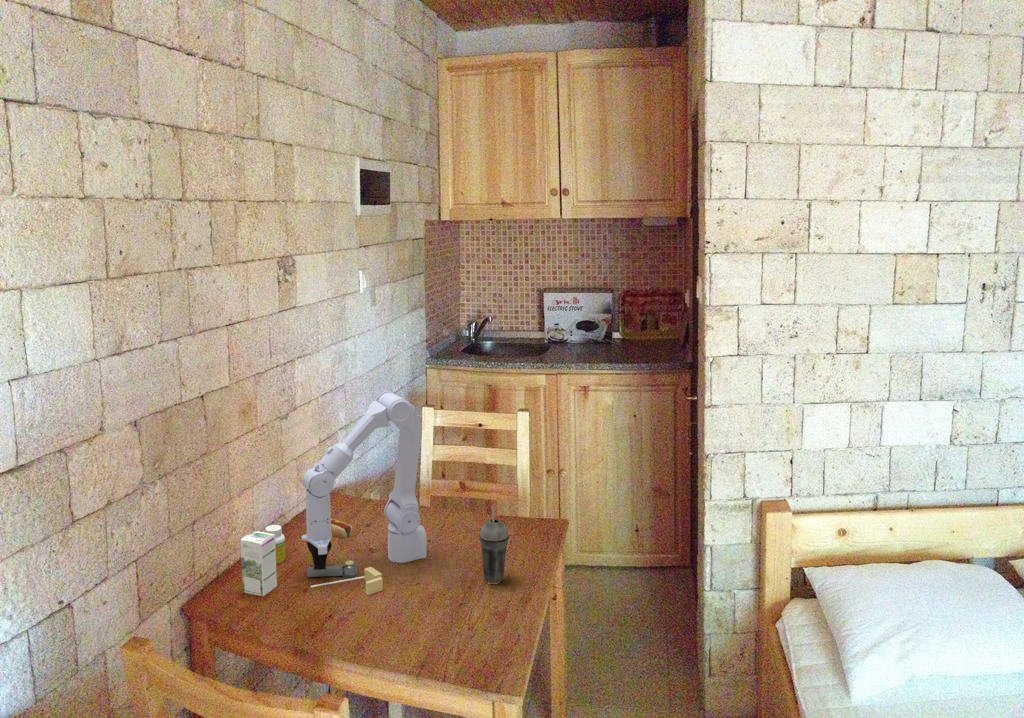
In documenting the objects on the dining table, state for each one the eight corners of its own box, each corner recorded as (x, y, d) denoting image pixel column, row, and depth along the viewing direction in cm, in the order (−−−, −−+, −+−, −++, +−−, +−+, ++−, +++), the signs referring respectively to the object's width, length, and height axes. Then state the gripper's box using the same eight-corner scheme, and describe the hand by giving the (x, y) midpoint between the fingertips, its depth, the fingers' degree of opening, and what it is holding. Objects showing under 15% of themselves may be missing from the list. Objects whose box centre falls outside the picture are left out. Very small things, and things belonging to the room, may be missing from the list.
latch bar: (357, 571, 204) (357, 561, 203) (357, 577, 200) (356, 567, 200) (308, 573, 202) (308, 563, 202) (306, 580, 199) (306, 569, 198)
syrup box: (278, 590, 196) (276, 532, 193) (262, 602, 190) (260, 542, 187) (257, 586, 197) (255, 529, 195) (241, 597, 192) (239, 538, 189)
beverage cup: (513, 577, 205) (515, 501, 201) (500, 589, 199) (502, 510, 195) (486, 571, 208) (488, 495, 204) (473, 583, 202) (474, 505, 198)
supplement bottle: (279, 569, 207) (278, 533, 205) (259, 567, 208) (258, 530, 206) (289, 560, 212) (288, 524, 210) (269, 558, 213) (268, 522, 211)
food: (306, 532, 230) (306, 515, 229) (321, 526, 234) (321, 509, 233) (342, 545, 222) (341, 527, 221) (356, 538, 227) (356, 521, 226)
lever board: (368, 567, 209) (367, 550, 208) (390, 599, 193) (390, 581, 192) (304, 578, 202) (303, 560, 201) (321, 613, 186) (321, 594, 185)
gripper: (298, 508, 205) (300, 559, 207) (304, 531, 191) (306, 585, 194) (327, 505, 207) (328, 556, 210) (335, 527, 194) (336, 581, 196)
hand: (319, 570), depth 202 cm, fingers closed, pressing on latch bar
